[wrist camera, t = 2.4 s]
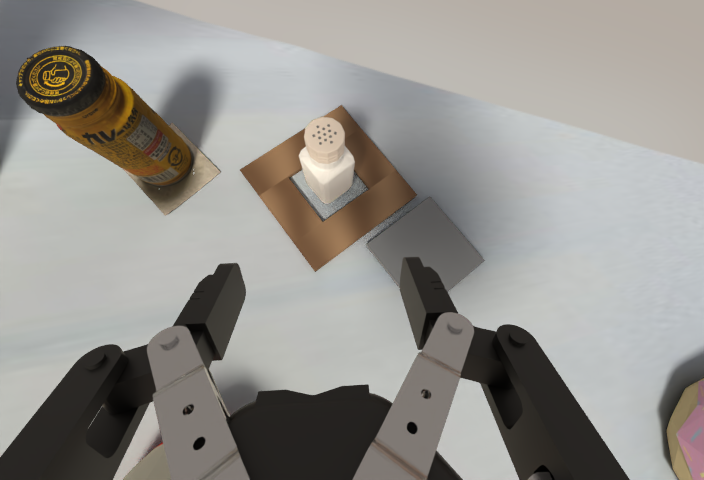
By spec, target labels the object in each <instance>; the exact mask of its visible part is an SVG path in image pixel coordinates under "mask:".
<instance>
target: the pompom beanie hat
mask: <svg viewBox="0 0 704 480" xmlns="http://www.w3.org/2000/svg"><path fill="white" fill-rule="evenodd" d="M123 480H171V476H170V471H169V467H168V463H167V458H166V454H165V450H164V445H163V442H162V443H160V444H159V445H158V446H157V447H155V448H154V449H153V450H152V451H151V452H150V453H149V454H148V455H147V456H146V457H144V458H143V459H142V460H141V461H140V462H139V463H138V464H137V465H136V466H135V467H134V468H133V469H132V470H131V471H130V472H129V473H128V474H127V475H126V476H125V477H124V479H123Z"/></svg>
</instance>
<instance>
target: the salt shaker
mask: <svg viewBox="0 0 704 480" xmlns="http://www.w3.org/2000/svg"><path fill="white" fill-rule="evenodd" d="M304 140H305V144H306V146H305V147H304V148H303V149H302V150H301V152H300V154H299V158H300V162H301V165H302V169H303V172H304V176H305V179H306V182H307V184H308V185H309V187H310V188H311V189H312V190H313V191H314V193H315V194H316V195H317V196H318V197H319V199H320V200H321V201H322V202H323V203H325V204H329V203H331V202H333V201H334V200H335V199H337V198H338V197H339V196H341V195H342V194H343V193H345V192H346V191H347V190H349V189H350V188H351V186H352V182H353V174H354V165H355V161H354V157H353V155H352V154H351V153H350V151H349V150H348V149H347V148H346V146H345V132H344V129H343V127H342V125H341V124H340V123H339V122H337V121H336V120H334V119H333V118H328V117H320V118H317V119H314V120H312V121H311V122H310V123H309V124H308V126H307V127H306V128H305V134H304Z"/></svg>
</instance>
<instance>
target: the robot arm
mask: <svg viewBox="0 0 704 480" xmlns="http://www.w3.org/2000/svg"><path fill="white" fill-rule="evenodd" d="M400 292H401V295H402V299H403V302H404V305H405V309H406V312H407V315H408V318H409V322H410V325H411V328H412V332H413V335H414V338H415V342H416V345H417V348H418V350H422V352H421V353H420V352H419V353H418V355H417V357H416V359H415V361H414V362H413V364H412V366H411V368H410V370H409V372H408V374H407V376H406V378H405V380H404V382H403V384H402V386H401V388H400V390H399V392H398V394H397V396H396V398H395V400H394V402H393V403H391V402H390V401H388V400H387V399H385V398H383V397H381V396H378V395H375V394H372V393H369V386H368V385H354V386H341V387H338V388H335V389H332V390H329V391H326V392H323V393H320V394H317V395H308V394H303V393H298V392H294V391H289V390H275V391H259V392H258V395H257V399H256V401H254V402H252V403H250V404H248V405H246V406H244V407H242V408H240V409H239V410H237V411H236V412H235V413H233V414H232V415H231V416H230V415H229V412H228V410H227V408H226V406H225V404H224V402H223V399H222V397H221V395H220V392H219V390H218V388H217V386H216V383H215V381H214V379H213V376H212V374H211V372H210V370H209V367H210V364H211V362H212V361H215V360H222V359H223V357H224V354H225V351H226V348H227V346H228V343H229V340H230V338H231V335H232V332H233V330H234V327H235V324H236V322H237V319H238V316H239V314H240V311H241V308H242V305H243V303H244V300H245V296H246V289H245V284H244V281H243V278H242V274H241V271H240V268H239V265H238V264H237V263H228V264H219V266H218V267H217V269H216V271H215V273H214V274H213V275H208V276H207V277H205V278H204V279H203V280H202V281H201V282H199V284H198V286H197V287H196V289H195V290H194V293H193V294H192V295H191V297H190V300H188V302H187V304H186V305H185V307H184V308H183V310H182V312H181V313H180V315H179V317H178V318H177V320H176V322H175V323H174V325H173V326H172V327H169V328H167V329H164V330H163V331H161V332H159V333H158V334H157V335H155V336H154V337H153V338H152V339H151V341H150V342H149V344H147V345H144V346H141V347H138V348H134V349H131V350H128V351H124V352H123V351H122V349H121V348H120V347H119V346H117V345H113V344H110V345H104V346H101V347H98V348H96V349H93V350H92V351H90V352H88V353H87V354H85V355H84V356H82V357H81V358H80V359H79V360H78V361H77V362H76V363H75V364H74V365H73V367H72V368H71V369H70V370H69V372H68V373H67V374H66V375H65V377H64V378H63V379H62V380H61V382H60V383H59V384H58V386H57V387H56V388H55V389H54V391H53V392H52V393H51V394H50V396H49V397H48V398H47V399H46V401H45V402H44V403H43V404H42V406H41V407H40V408H39V409H38V411H37V412H36V413H35V414H34V416H33V417H32V418H31V419H30V421H29V422H28V423H27V424H26V426H25V427H24V428H23V429H22V431H21V432H20V433H19V435H18V436H17V437H16V438H15V440H14V441H13V442H12V443H11V445H10V446H9V447H8V448H7V450H6V451H5V452H4V453H3V455H2V456H1V457H0V480H113V478H114V476H115V474H116V472H117V470H118V468H119V465H120V463H121V461H122V459H123V457H124V455H125V453H126V451H127V449H128V447H129V445H130V443H131V441H132V438H133V436H134V434H135V432H136V430H137V428H138V426H139V424H140V422H141V420H142V418H143V416H144V414H145V411H146V409H147V407H148V405H149V403H150V402H153V401H154V406H155V410H156V414H157V419H158V423H159V428H160V432H161V436H162V441H163V445H164V450H165V454H166V458H167V463H168V467H169V471H170V476H171V480H463V479H462V478H461V477H460V476H459V475H458V474H457V473H456V472H455V471H454V469H453V468H452V467H451V466H450V465H449V464H448V463H447V462H446V461H445V459H444V458H443V457H442V456H441V455H440V454H439V453H438V452H437V451H436V449H437V446H438V443H439V440H440V437H441V434H442V431H443V428H444V425H445V422H446V419H447V416H448V413H449V410H450V407H451V404H452V401H453V398H454V395H455V391H456V388H457V385H458V382H459V379H460V378H464V379H468V380H472V381H476V382H479V383H480V384H481V386H482V389H483V391H484V393H485V396H486V398H487V401H488V403H489V406H490V408H491V411H492V413H493V416H494V418H495V421H496V423H497V425H498V428H499V430H500V433H501V435H502V438H503V440H504V443H505V445H506V448H507V450H508V452H509V455H510V457H511V460H512V462H513V465H514V467H515V470H516V472H517V475H518V477H519V480H630V479H629V478H628V476H627V475H626V474H625V472H624V471H623V469H622V468H621V466H620V465H619V463H618V462H617V460H616V459H615V457H614V456H613V454H612V453H611V451H610V450H609V448H608V447H607V445H606V444H605V442H604V441H603V439H602V438H601V436H600V435H599V433H598V432H597V430H596V429H595V427H594V426H593V424H592V423H591V421H590V420H589V419H588V417H587V416H586V414H585V413H584V411H583V410H582V408H581V407H580V405H579V404H578V402H577V401H576V399H575V398H574V396H573V395H572V393H571V392H570V390H569V389H568V387H567V386H566V384H565V383H564V381H563V380H562V378H561V377H560V375H559V374H558V372H557V371H556V369H555V368H554V366H553V365H552V363H551V362H550V361H549V359H548V358H547V356H546V355H545V353H544V352H543V350H542V349H541V347H540V346H539V344H538V343H537V341H536V340H535V338H534V337H533V336H532V335H531V334H530V333H529V332H527V331H526V330H524V329H522V328H520V327H518V326H515V325H508V324H507V325H502V326H500V327H499V328H498V329H497V332H495V331H491V330H486V329H481V328H478V327H475V326H473V325H472V324H471V322H470V321H469V320H468V319H467V318H465V317H464V316H462V315H460V314H458V312H457V310H456V308H455V306H454V304H453V302H452V300H451V298H450V296H449V294H448V292H447V290H446V289H445V287H444V285H443V283H442V281H441V279H440V277H439V275H438V273H437V272H436V271H435V270H433V269H432V268H431V267H424V266H423V264H422V262H421V259H420V258H419V257H404V258H403V261H402V268H401V275H400ZM101 406H102V407H101ZM100 408H101V409H100ZM99 410H100V411H99ZM98 411H99V412H98ZM97 413H98V414H97ZM96 415H97V416H96ZM95 416H96V417H95ZM94 418H95V419H94ZM93 419H94V420H93ZM92 421H93V422H92ZM91 423H92V424H91ZM90 424H91V425H90ZM89 426H90V427H89ZM88 428H89V429H88Z"/></svg>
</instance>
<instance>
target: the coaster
mask: <svg viewBox="0 0 704 480" xmlns="http://www.w3.org/2000/svg"><path fill="white" fill-rule="evenodd" d="M366 246H367V247H368V248H369V250H370V251H371V252H372V254H373V255H374V256H375V257H376V259H377V260H378V261H379V262H380V264H381V265H382V266H383V268H384V269H385V270H386V271H387V273H388V274H389V275H390V276H391V278H392V279H393V280H394V282H395V283H396V284H397V285H398V287H399V288H400V275H401V268H402V261H403V258H404V257H419V258H420V259H421V262H422V264H423V266H424V267H431V268H432V269H433V270H435V271H436V272H437V273H438V275H439V277H440V279H441V281H442V283H443V285H444V287H445V289H446V290H447V292H448V291H449V290H450V289H452V288H453V287H454V286H455V285H456V284H457V283H459V282H460V281H461V280H462V279H463V278H465V277H466V276H467V275H468V274H469V273H470V272H472V271H473V270H474V269H475V268H476V267H478V266H479V265H480V264H481V263H482V262H483V261H485V260H484V259H483V258H482V257H481V256H480V254H479V253H478V252H477V251H476V250H475V249H474V247H473V246H472V245H471V244H470V243H469V241H468V240H467V239H466V238H465V237H464V236H463V234H462V233H461V232H460V231H459V230H458V229H457V227H456V226H455V225H454V224H453V223H452V222H451V220H450V219H449V218H448V217H447V216H446V215H445V213H444V212H443V211H442V210H441V209H440V208H439V206H438V205H437V204H436V203H435V202H434V200H433V199H432V198H431V197H428V198H427V199H426V200H424V201H423V202H422V203H420V204H419V205H418V206H417V207H415V208H414V209H413V210H411V211H410V212H409V213H407V214H406V215H405V216H403V217H402V218H401V219H399V220H398V221H397V222H395V223H394V224H393V225H391V226H390V227H389V228H387V229H386V230H385V231H383V232H382V233H381V234H380V235H378V236H377V237H376V238H374V239H373V240H372V241H370V242H369V243H368V244H366Z"/></svg>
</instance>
